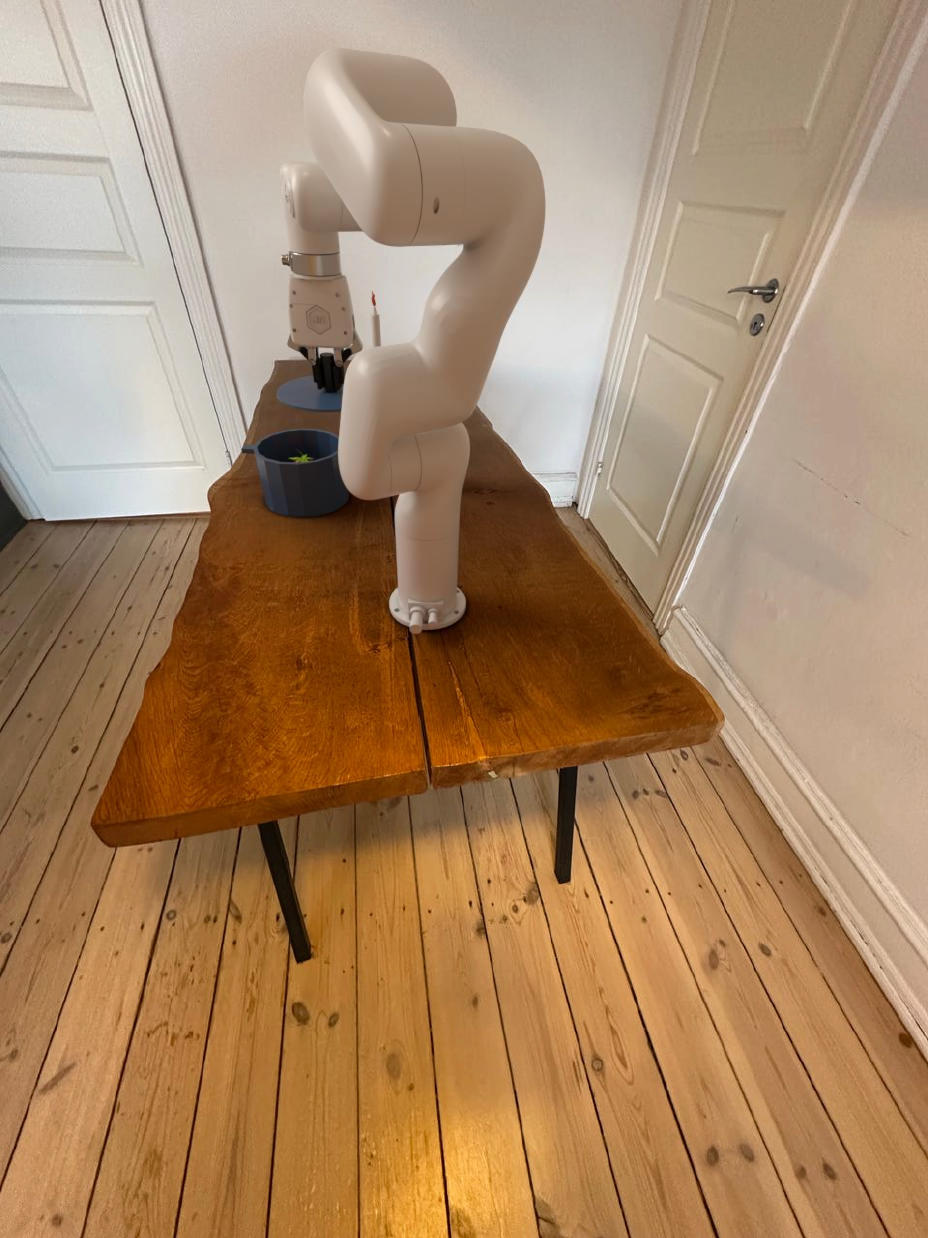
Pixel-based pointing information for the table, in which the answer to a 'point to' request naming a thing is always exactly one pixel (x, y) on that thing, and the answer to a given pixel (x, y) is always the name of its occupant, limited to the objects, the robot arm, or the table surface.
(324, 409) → the lid
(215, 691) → the table surface
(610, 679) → the table surface
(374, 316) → the candlestick
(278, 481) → the pot
